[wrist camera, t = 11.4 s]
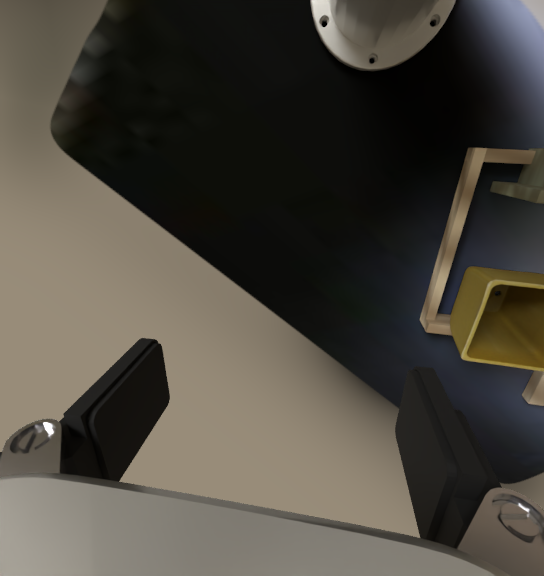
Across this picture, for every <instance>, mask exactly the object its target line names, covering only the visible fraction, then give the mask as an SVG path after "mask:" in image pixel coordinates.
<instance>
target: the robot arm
mask: <svg viewBox="0 0 544 576" xmlns="http://www.w3.org/2000/svg"><path fill="white" fill-rule="evenodd" d="M310 1H311V10H312V15H313V19H314V23H315V27H316V30H317V32H318V34H319V37H320V39H321V41H322V42H323V44H324V45H325V47H326V48H327V50H328V51H329V52H330V53H331V54H332V55H333V56H334V57H335V58H336V59H337V60H338V61H340V62H342V63H343V64H345V65H347V66H348V67H351V68H354V69H358V70H361V71H379V70H386V69H389V68H392V67H394V66H397V65H400V64H402V63H403V62H405V61H407V60H408V59H410V58H412V57H413V56H414V55H416V54H417V53H418V52H419V51H420V50H422V49H423V48H424V47H425V46H426V45H427V44H428V43H429V42H430V41H431V40H432V39H433V38H434V36H435V35H436V34H437V32H438V31H439V30H440V29H441V27H442V26H443V24H444V23H445V21H446V19H447V17H448V16H449V14H450V12H451V10H452V8H453V7H454V4H455V1H456V0H310ZM431 21H433V22H434V23H435V26H434V27H431V26H430V22H431ZM323 22H326V23H327V26H326V27H322V23H323ZM370 58H373V59H374V63H373V64H370V63H369V59H370ZM169 399H170V395H169V388H168V382H167V376H166V370H165V363H164V357H163V351H162V346H161V344H158V341H157V340H155V339H146V338H141V339H140V340H138V341H137V342H136V343H135V344H134V345H133V346H132V347H131V348H130V349H129V350H128V351H127V352H126V353H125V354H124V355H123V356H122V357H121V358H120V359H119V360H118V361H117V362H116V363H115V364H114V365H113V366H112V367H111V368H110V369H109V370H108V371H107V372H106V373H105V374H104V375H103V376H102V377H101V378H100V379H99V380H98V381H97V382H96V383H94V385H92V386H91V387H90V388H89V390H87V391H86V392H85V393H84V394H83V395H82V396H81V397H80V398H79V399H78V400H77V401H76V402H75V403H74V404H73V405H72V406H71V407H70V408H69V409H68V410H67V411H66V412H65V413H64V418H63V419H62V420H60V421H59V422H58V421H57V420H54V419H42V420H38V421H35V422H32V423H30V424H27V425H26V426H24V427H22V428H20V429H19V430H18V431H16V432H15V433H14V434H12V436H10V438H9V439H8V440H7V441H6V443H5V445H4V447H3V450H2V452H0V576H544V510H543V509H542V508H541V507H540V506H539V505H538V504H536V503H535V502H534V501H532V500H531V499H529V498H528V497H526V496H524V495H523V494H521V493H518V492H517V491H513V490H510V489H507V488H502V487H501V485H500V483H499V481H498V479H497V477H496V475H495V473H494V472H493V470H492V468H491V466H490V464H489V462H488V460H487V458H486V456H485V454H484V453H483V451H482V449H481V447H480V445H479V443H478V441H477V439H476V437H475V435H474V433H473V432H472V430H471V428H470V426H469V424H468V422H467V420H466V418H465V416H464V415H463V413H462V412H461V411H459V410H454V408H453V406H452V404H451V402H450V400H449V398H448V396H447V394H446V392H445V390H444V388H443V386H442V384H441V382H440V380H439V378H438V376H437V374H436V372H435V370H434V369H433V368H426V367H417V366H416V367H414V369H413V370H409V371H408V373H407V378H406V382H405V387H404V391H403V395H402V400H401V404H400V409H399V413H398V418H397V422H396V428H395V432H396V439H397V443H398V447H399V451H400V455H401V460H402V463H403V467H404V472H405V476H406V480H407V485H408V488H409V493H410V497H411V501H412V505H413V509H414V513H415V518H416V522H417V526H418V530H419V534H420V537H421V538H417V537H413V536H409V535H404V534H400V533H395V532H390V531H385V530H380V529H375V528H370V527H365V526H361V525H356V524H350V523H345V522H340V521H334V520H329V519H324V518H318V517H313V516H308V515H302V514H297V513H292V512H286V511H281V510H275V509H270V508H264V507H259V506H253V505H248V504H242V503H236V502H231V501H225V500H220V499H214V498H209V497H203V496H198V495H192V494H187V493H181V492H175V491H169V490H163V489H157V488H152V487H146V486H141V485H135V484H129V483H123V482H119V481H120V479H121V477H122V476H123V474H124V473H125V471H126V470H127V468H128V466H129V465H130V463H131V462H132V460H133V459H134V457H135V456H136V454H137V453H138V451H139V449H140V448H141V446H142V445H143V443H144V441H145V440H146V438H147V437H148V435H149V434H150V432H151V431H152V429H153V427H154V426H155V424H156V423H157V421H158V419H159V418H160V417H161V415H162V413H163V412H164V410H165V409H166V407H167V406H168V403H169Z"/></svg>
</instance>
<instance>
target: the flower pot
mask: <svg viewBox="0 0 544 576" xmlns="http://www.w3.org/2000/svg"><path fill="white" fill-rule="evenodd" d="M497 291H499V292H500V294H499V295H495V292H497ZM450 329H451V333H452V336H453V338H454V341H455V343H456V346H457V348H458V350H459V353H460V355H461V358H462V359H463V360H466V361H472V362H479V363H487V364H494V365H502V366H509V367H516V368H522V369H528V370H535V371H542V372H544V274H540V273H531V272H520V271H511V270H501V269H492V268H484V267H476V266H472V267H468V268H467V269H466V271H465V273H464V276H463V279H462V282H461V286H460V288H459V291H458V294H457V297H456V300H455V303H454V306H453V309H452V312H451V317H450Z"/></svg>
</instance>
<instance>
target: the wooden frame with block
mask: <svg viewBox="0 0 544 576" xmlns="http://www.w3.org/2000/svg"><path fill="white" fill-rule="evenodd" d="M483 162H497V163H516V164H524V165H523V168H522V171H521V173H520V176H519V179H518V182H517V183H513V182H496V181H493V182H492V186H491V189H490V192H494V193H498V194H502V195H506V196H510V197H514V198H518V199H522V200H526V201H530V202H534V203H544V148H529V150H511V149H489V148H468V151H467V154H466V158H465V161H464V165H463V168H462V172H461V175H460V179H459V182H458V186H457V189H456V193H455V197H454V200H453V204H452V207H451V211H450V214H449V218H448V221H447V225H446V228H445V232H444V235H443V239H442V243H441V246H440V250H439V253H438V257H437V260H436V264H435V267H434V271H433V274H432V278H431V281H430V285H429V289H428V292H427V296H426V299H425V303H424V306H423V310H422V313H421V317H420V321H421V323H422V325H423V327H424V329H425V331H426V332H428V333H436V334H445V335H452V333H451V329H450V317H451V315H448V314H439V313H437V311H438V307H439V304H440V301H441V298H442V294H443V291H444V288H445V285H446V281H447V278H448V275H449V272H450V268H451V265H452V262H453V258H454V255H455V252H456V249H457V245H458V242H459V239H460V236H461V232H462V229H463V226H464V223H465V219H466V216H467V213H468V209H469V206H470V203H471V200H472V196H473V193H474V190H475V187H476V183H477V180H478V177H479V174H480V170H481V167H482V164H483Z"/></svg>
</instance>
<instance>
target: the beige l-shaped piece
mask: <svg viewBox="0 0 544 576" xmlns="http://www.w3.org/2000/svg"><path fill="white" fill-rule="evenodd" d="M522 396H523V397H524V399H525V400H526V401H527V403H528V404H534V405H541V406H544V372H542V371H535V370H534V372H533V374H532V376H531V378H530V380H529V382H528V384H527V386H526V388H525V390H524V392H523V394H522Z"/></svg>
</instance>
